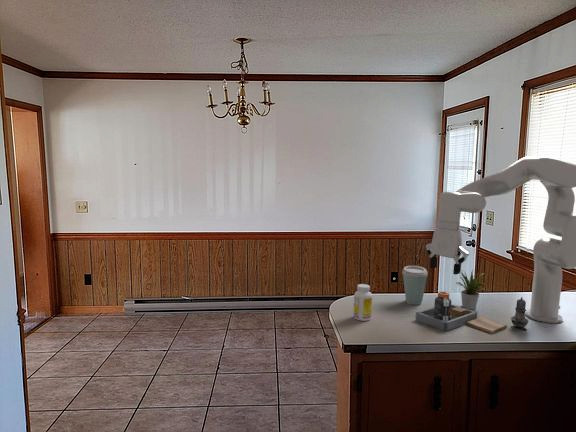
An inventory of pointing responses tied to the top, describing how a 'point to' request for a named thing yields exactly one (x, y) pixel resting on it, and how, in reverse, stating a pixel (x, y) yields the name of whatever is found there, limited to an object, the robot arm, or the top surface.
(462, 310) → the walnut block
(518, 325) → the stone chess piece
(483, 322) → the pad
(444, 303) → the pill bottle
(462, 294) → the house plant
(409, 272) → the disposable coffee cup
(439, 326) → the bin
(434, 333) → the top surface
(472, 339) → the top surface
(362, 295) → the supplement bottle
